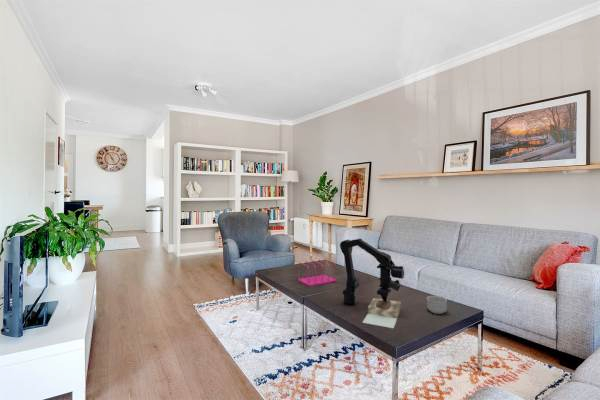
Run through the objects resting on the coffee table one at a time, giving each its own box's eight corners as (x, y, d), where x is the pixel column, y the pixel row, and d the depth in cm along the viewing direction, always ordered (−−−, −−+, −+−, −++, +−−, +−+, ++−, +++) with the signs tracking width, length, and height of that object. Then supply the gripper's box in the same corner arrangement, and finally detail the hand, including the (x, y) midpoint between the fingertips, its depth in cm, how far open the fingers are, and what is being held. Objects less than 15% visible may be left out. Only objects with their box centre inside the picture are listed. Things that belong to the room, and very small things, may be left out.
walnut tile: (376, 307, 175) (376, 303, 174) (378, 303, 180) (378, 299, 180) (388, 309, 171) (388, 305, 171) (390, 305, 177) (390, 301, 177)
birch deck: (367, 313, 175) (367, 306, 175) (373, 304, 189) (373, 298, 189) (397, 318, 168) (397, 311, 168) (400, 308, 182) (400, 301, 182)
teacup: (440, 317, 170) (440, 303, 170) (422, 311, 179) (422, 297, 178) (453, 311, 178) (453, 297, 178) (435, 305, 187) (435, 292, 187)
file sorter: (336, 282, 235) (336, 262, 235) (308, 287, 223) (308, 265, 223) (324, 276, 251) (324, 257, 250) (297, 281, 239) (297, 261, 238)
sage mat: (362, 322, 163) (362, 322, 163) (367, 313, 175) (367, 313, 175) (393, 328, 156) (393, 328, 156) (397, 318, 168) (397, 318, 168)
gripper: (397, 282, 167) (397, 310, 167) (401, 273, 184) (401, 299, 184) (376, 279, 171) (376, 307, 172) (382, 271, 188) (382, 296, 189)
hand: (385, 302), depth 179 cm, fingers closed
